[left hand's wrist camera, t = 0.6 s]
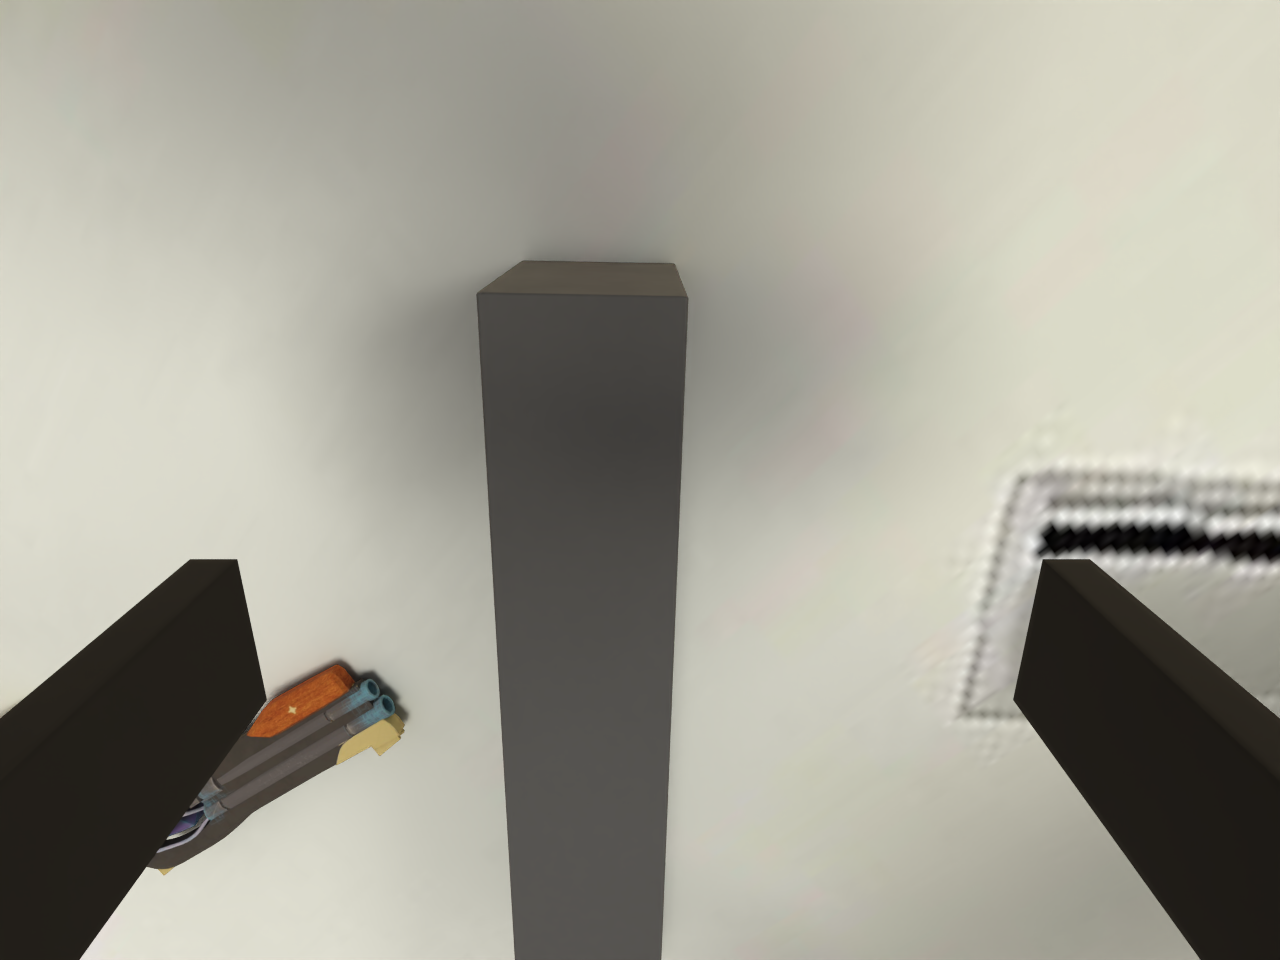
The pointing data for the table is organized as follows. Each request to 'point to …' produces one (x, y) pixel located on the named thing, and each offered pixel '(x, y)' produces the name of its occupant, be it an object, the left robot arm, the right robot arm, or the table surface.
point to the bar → (585, 591)
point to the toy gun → (285, 755)
